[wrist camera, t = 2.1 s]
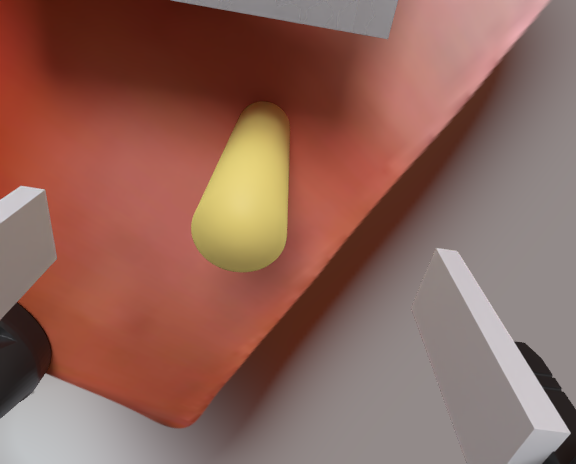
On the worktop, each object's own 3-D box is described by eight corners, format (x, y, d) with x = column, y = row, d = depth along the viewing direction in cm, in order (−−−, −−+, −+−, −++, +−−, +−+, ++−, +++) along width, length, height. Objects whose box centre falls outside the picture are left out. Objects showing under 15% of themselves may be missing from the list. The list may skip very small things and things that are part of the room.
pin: (285, 157, 28) (279, 277, 16) (234, 149, 28) (189, 265, 16) (294, 106, 26) (294, 198, 14) (239, 97, 26) (193, 182, 14)
